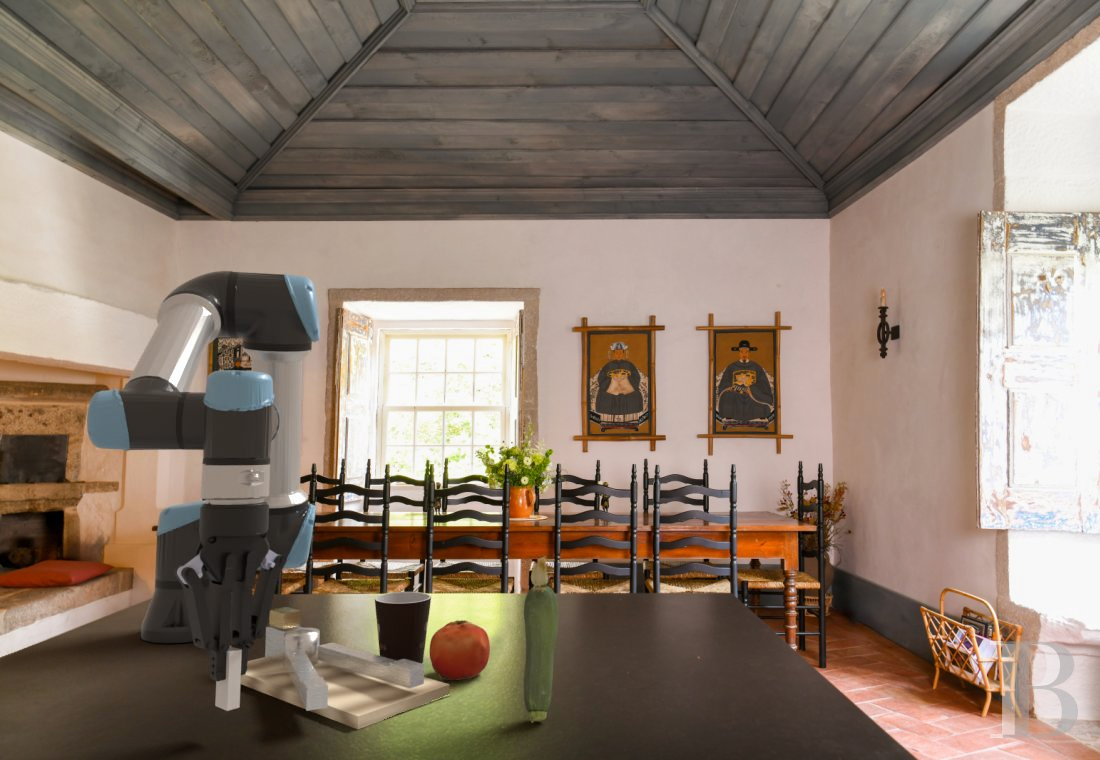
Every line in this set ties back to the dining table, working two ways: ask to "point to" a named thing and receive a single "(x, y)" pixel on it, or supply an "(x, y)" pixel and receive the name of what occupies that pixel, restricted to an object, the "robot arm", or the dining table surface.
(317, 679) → the tong arm
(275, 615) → the tab
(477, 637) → the tomato
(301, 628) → the base
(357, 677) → the board
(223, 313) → the robot arm
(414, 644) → the coffee mug
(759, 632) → the dining table surface
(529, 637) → the vegetable
